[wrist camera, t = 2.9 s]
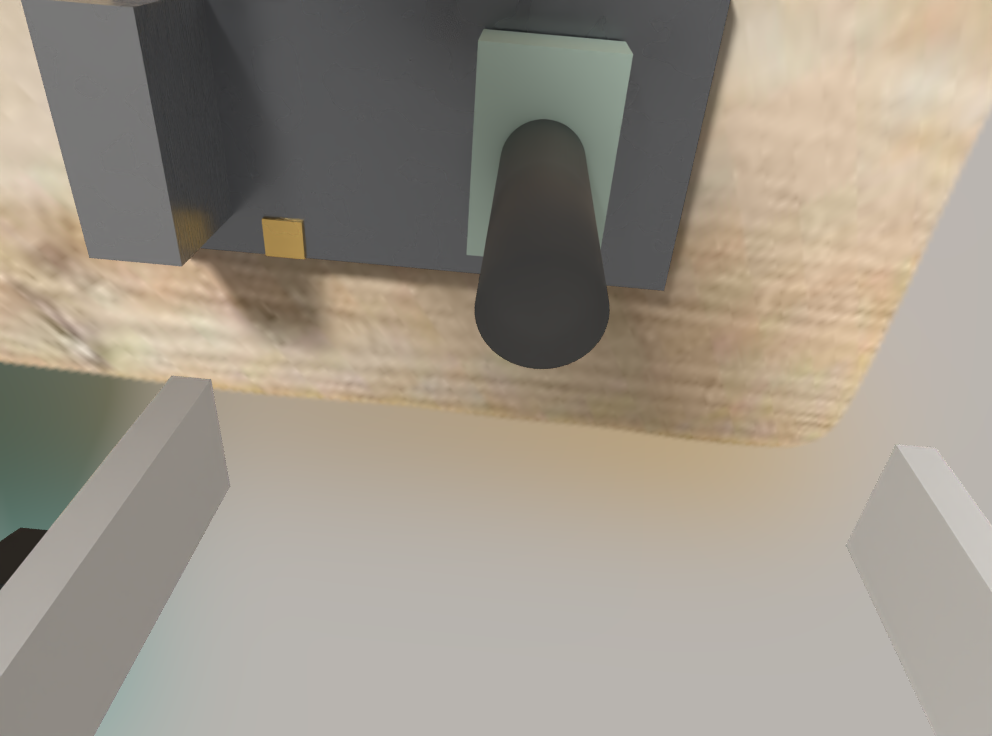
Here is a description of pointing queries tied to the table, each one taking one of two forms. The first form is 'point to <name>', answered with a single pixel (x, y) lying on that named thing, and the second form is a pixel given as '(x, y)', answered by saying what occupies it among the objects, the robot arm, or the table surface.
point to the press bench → (342, 123)
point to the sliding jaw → (543, 190)
